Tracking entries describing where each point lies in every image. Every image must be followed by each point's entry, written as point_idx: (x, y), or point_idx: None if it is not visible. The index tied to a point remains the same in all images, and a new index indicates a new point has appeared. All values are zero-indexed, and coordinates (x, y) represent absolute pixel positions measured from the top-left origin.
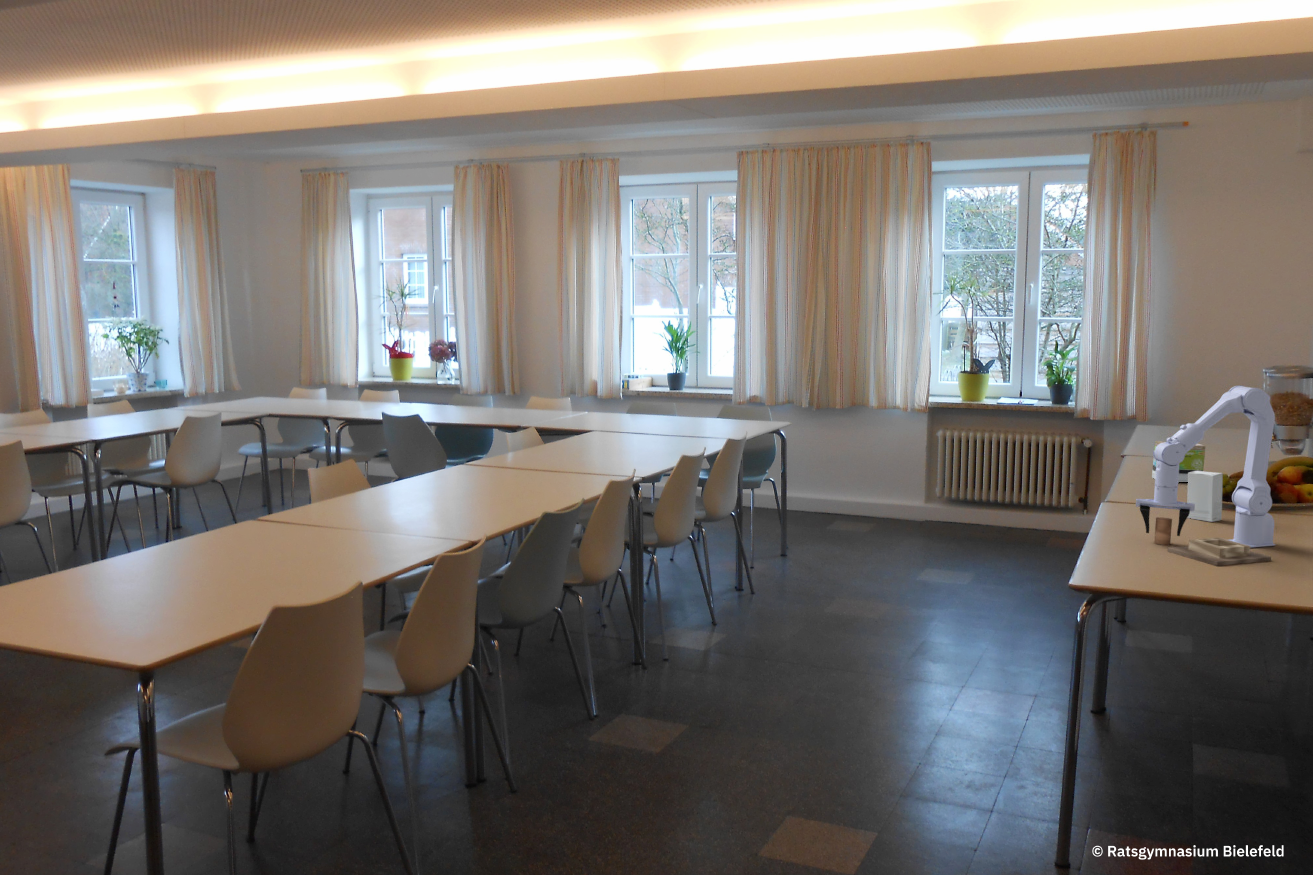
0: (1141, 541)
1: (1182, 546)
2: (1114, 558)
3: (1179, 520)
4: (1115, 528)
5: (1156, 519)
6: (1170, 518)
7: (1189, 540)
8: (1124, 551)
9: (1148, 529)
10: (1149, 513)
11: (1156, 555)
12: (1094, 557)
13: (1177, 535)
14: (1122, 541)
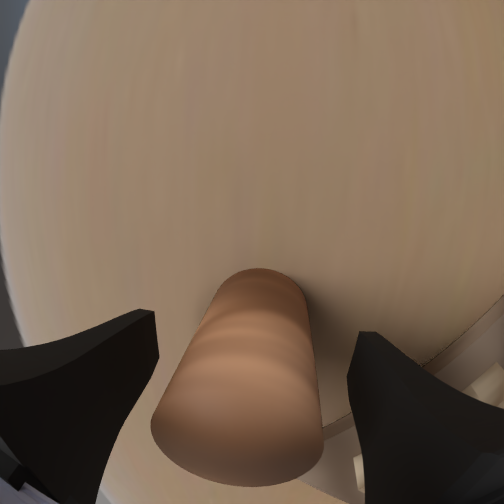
0: (145, 306)
1: (342, 432)
2: (138, 497)
3: (368, 492)
4: (47, 30)
5: (165, 444)
6: (315, 425)
7: (358, 489)
8: (134, 460)
9: (145, 378)
10: (67, 424)
11: (229, 487)
12: (104, 488)
13: (350, 379)
14: (78, 332)
